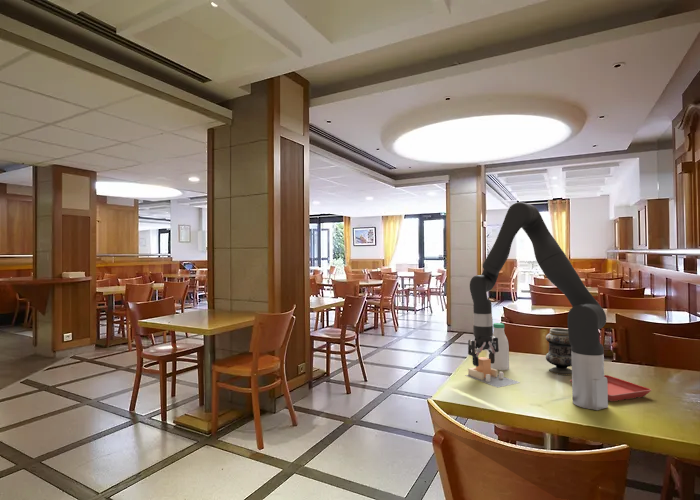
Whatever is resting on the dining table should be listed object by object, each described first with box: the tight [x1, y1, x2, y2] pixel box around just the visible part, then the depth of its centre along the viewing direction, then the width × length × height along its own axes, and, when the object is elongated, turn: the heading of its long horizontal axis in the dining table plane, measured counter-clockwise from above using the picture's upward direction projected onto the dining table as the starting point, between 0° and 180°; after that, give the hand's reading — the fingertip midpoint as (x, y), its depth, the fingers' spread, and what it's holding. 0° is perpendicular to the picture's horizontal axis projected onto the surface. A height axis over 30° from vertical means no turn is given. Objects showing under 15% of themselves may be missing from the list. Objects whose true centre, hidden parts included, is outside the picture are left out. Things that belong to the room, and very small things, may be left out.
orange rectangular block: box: [475, 356, 491, 378], centre depth 160 cm, size 4×4×7 cm
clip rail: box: [464, 366, 521, 388], centre depth 156 cm, size 17×12×4 cm
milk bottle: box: [491, 322, 510, 371], centre depth 172 cm, size 8×8×20 cm
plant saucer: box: [569, 374, 652, 402], centre depth 142 cm, size 18×18×3 cm
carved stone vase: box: [545, 327, 572, 376], centre depth 168 cm, size 12×12×18 cm
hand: (483, 364), depth 160 cm, fingers open, 8 cm apart
